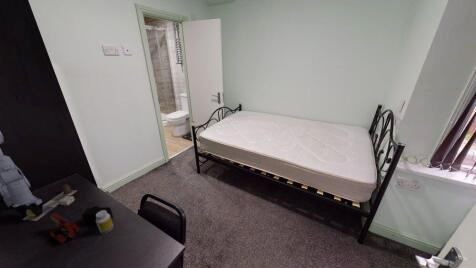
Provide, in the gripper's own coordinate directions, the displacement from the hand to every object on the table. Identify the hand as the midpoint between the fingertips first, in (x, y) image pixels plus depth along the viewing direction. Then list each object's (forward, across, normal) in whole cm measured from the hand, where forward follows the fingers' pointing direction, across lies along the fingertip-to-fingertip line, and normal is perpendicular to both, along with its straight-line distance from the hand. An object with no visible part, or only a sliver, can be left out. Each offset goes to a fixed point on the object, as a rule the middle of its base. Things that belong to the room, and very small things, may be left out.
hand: (32, 214), depth 87 cm
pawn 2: (+2, 0, +18) cm, 18 cm away
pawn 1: (+2, 0, 0) cm, 2 cm away
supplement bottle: (+3, +40, -3) cm, 41 cm away
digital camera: (+3, +34, +1) cm, 34 cm away
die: (+3, +8, +10) cm, 13 cm away
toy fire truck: (+3, +24, -7) cm, 26 cm away
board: (+3, 0, +9) cm, 9 cm away
